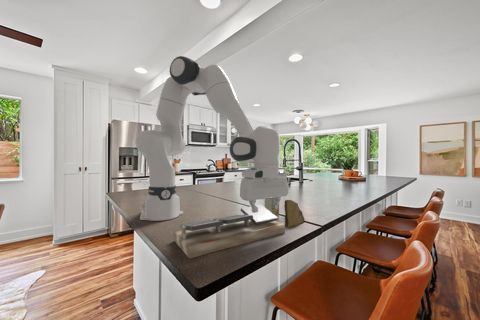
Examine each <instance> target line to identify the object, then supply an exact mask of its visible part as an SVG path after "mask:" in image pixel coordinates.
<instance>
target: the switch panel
mask: <svg viewBox="0 0 480 320" xmlns="http://www.w3.org/2000/svg"><path fill="white" fill-rule="evenodd" d="M269 211H270V210H269ZM270 212H271V213H272V214H273V211H270ZM245 215H246V214H245ZM217 220H218V219H217ZM218 221H220V220H218ZM285 227H286V224H285V223H282V222H279V221H278V220H277V221H273V222H268V223H264V224H259V225H255V224H254V223H253V222H252V221H251V220H246V221H241V222H236V223H231V224H223V225H221V226H216V227H211V228H206V229H201V230H196V231H189V230H186V227H185V226H184V225H183V226H182V229H181V230H176V231H174V233H173V235H174V236H173V237H174V238H173V239H174V242H175V243H176V245H177V246H178V247H179V248H180V250H181V251H182V252H183V253H184V255H186V257H187V258H188V259H193V258H195V257H196V258H197V257H200V256H203V255H204V256H205V255H207V254H212V253H215V252H218V251H222V250H225V249H228V248H233V247H236V246H240V245H244V244H247V243H251V242H254V241H258V240H259V241H260V240H263V239H266V238H269V237H272V236H276V235H280V234H284V233H285V231H286V228H285Z"/></svg>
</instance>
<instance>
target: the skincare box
mask: <svg viewBox="0 0 480 320" xmlns="http://www.w3.org/2000/svg"><path fill="white" fill-rule="evenodd" d="M274 201H275V199H274V198H266V199H264V207H265V208H266V209H267V210H270V211H273V214H274V215H275V216H276V217H278V219H280V203H279V204H278V209H272V204H273V203H274Z"/></svg>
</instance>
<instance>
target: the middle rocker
mask: <svg viewBox="0 0 480 320" xmlns="http://www.w3.org/2000/svg"><path fill="white" fill-rule="evenodd" d="M217 219H218V220H220V221H223V224H231V223H236V222H241V221H246V220H251V219H253V215H244V214H234V215H230V216H223V217H218V218H213V219H212V220H217Z"/></svg>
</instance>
